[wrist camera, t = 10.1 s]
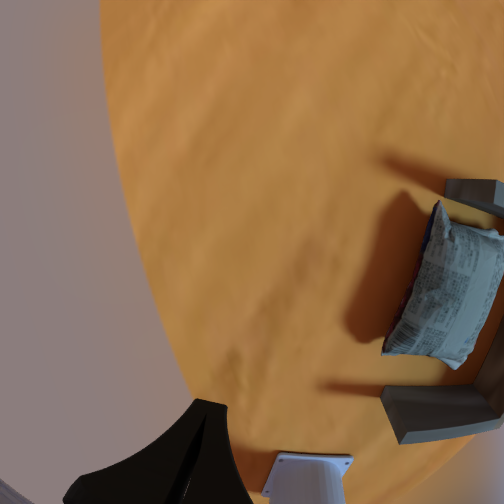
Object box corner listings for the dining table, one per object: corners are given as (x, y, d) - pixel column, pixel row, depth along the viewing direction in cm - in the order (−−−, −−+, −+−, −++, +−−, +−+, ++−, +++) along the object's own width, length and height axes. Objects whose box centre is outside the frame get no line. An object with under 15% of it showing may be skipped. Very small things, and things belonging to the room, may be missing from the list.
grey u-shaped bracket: (473, 394, 21) (499, 428, 16) (379, 397, 22) (399, 444, 16) (535, 217, 17) (578, 227, 11) (446, 179, 18) (496, 179, 12)
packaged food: (497, 233, 18) (533, 244, 13) (446, 359, 21) (470, 389, 16) (420, 196, 19) (455, 199, 14) (367, 343, 21) (384, 379, 16)
